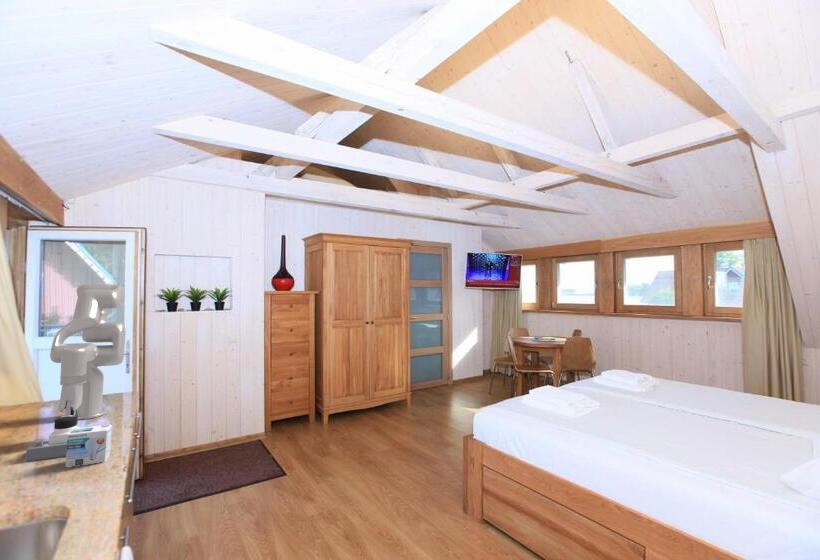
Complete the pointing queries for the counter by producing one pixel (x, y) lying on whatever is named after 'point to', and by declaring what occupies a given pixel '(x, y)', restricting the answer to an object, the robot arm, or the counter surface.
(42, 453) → the bracket
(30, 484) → the counter surface
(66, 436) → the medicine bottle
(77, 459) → the light bulb box
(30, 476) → the counter surface
